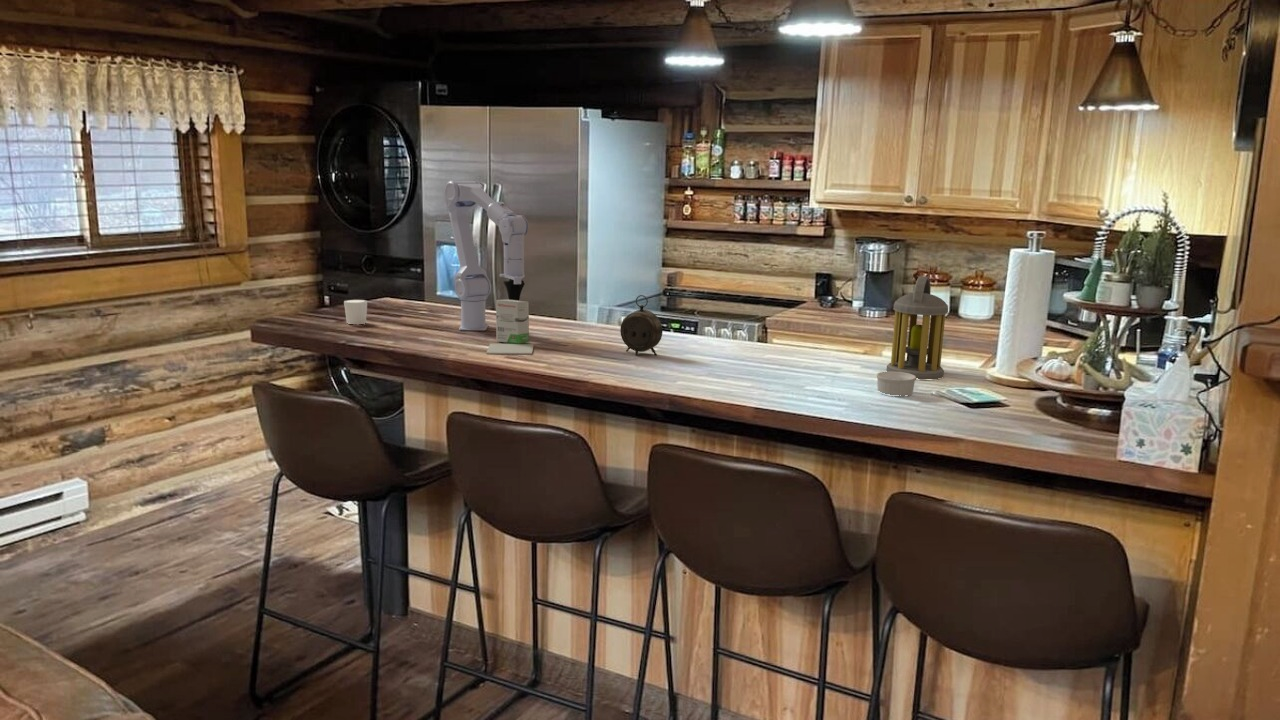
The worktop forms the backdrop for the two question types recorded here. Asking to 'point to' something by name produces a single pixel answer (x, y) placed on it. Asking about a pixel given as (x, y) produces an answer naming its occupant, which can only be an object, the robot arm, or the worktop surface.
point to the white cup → (356, 311)
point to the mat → (510, 349)
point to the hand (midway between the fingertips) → (514, 306)
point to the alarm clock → (641, 330)
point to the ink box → (512, 321)
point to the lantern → (918, 333)
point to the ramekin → (896, 383)
